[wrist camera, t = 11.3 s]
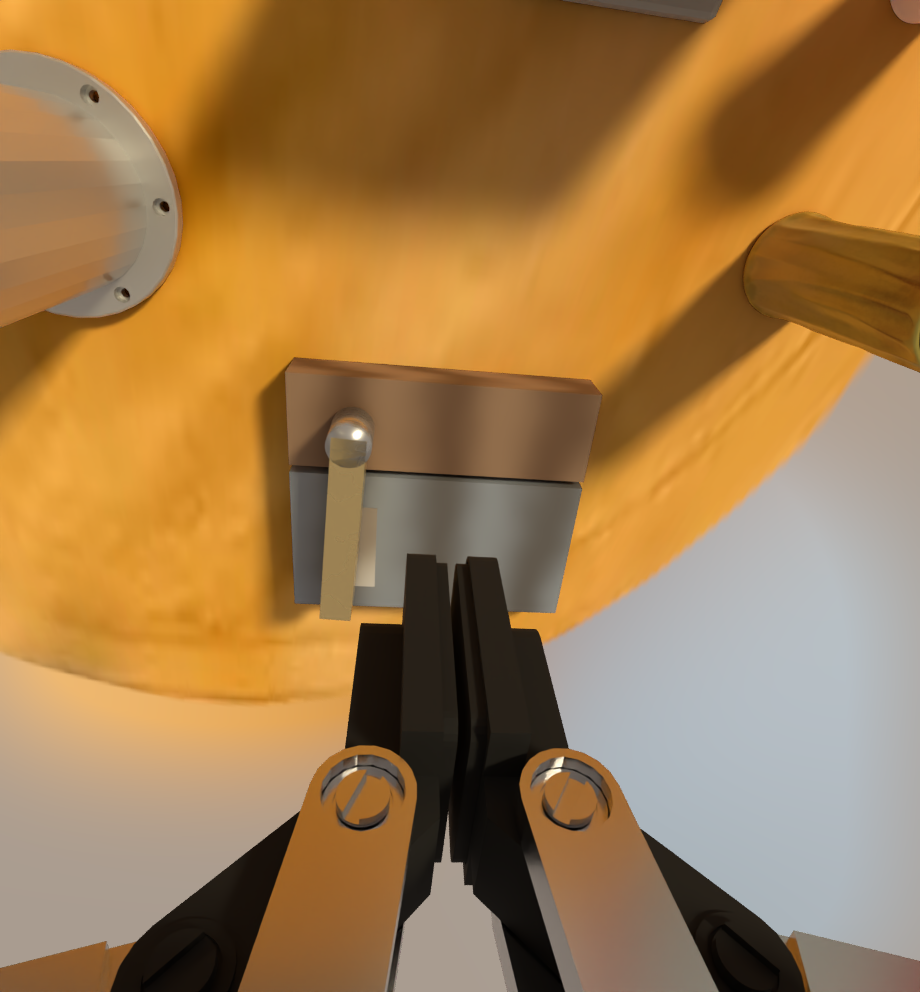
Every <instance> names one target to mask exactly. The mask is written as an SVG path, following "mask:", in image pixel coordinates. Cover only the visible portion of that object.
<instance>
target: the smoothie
mask: <svg viewBox="0 0 920 992" xmlns="http://www.w3.org/2000/svg"><path fill="white" fill-rule="evenodd" d="M890 2H891V6H892V9H893V11H894V13H895V14H896V15H897V17H898V18H900V19H901V20H902V21H904V22H907V23H911V24H917V23H920V0H890Z"/></svg>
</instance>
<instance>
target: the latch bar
mask: <svg viewBox="0 0 920 992" xmlns="http://www.w3.org/2000/svg"><path fill="white" fill-rule="evenodd" d="M374 432H375V424H374V421H373V419H372V417H371V416H370V415H369V414H368V413H367V412H366V411H365V410H363V409H361V408H357V407H347V408H344V409H341V410H340V411H338V412H337V413H336V414H335V416H334V418H333V420H332V423H331V426H330V429H329V432H328V435H327V438H326V441H325V451H326V454H327V456H328V457H329V474H328V490H327V507H326V523H325V539H324V555H323V571H322V587H321V603H320V619H332V620H344V621H350V620H351V613H352V606H353V599H354V593H355V582H356V571H357V561H358V550H359V540H360V529H361V518H362V508H363V497H364V487H365V476H366V465H367V460H368V459H369V457H370V455H371V450H372V444H373V438H374Z"/></svg>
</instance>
